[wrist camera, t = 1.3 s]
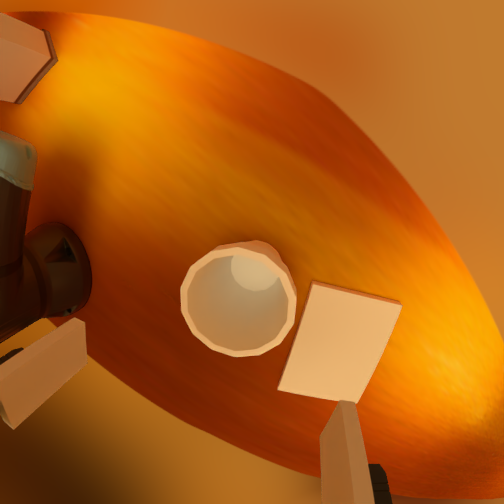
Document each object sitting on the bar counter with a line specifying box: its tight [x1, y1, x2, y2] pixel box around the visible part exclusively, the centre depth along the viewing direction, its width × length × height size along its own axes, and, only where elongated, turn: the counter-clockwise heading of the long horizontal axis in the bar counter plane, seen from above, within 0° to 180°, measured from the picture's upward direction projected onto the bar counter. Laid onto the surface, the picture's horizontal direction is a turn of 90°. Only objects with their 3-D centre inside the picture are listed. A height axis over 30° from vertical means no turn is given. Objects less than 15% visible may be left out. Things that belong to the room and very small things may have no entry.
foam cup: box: [180, 240, 297, 357], centre depth 29 cm, size 10×9×13 cm
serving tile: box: [278, 280, 403, 404], centre depth 35 cm, size 12×16×2 cm
